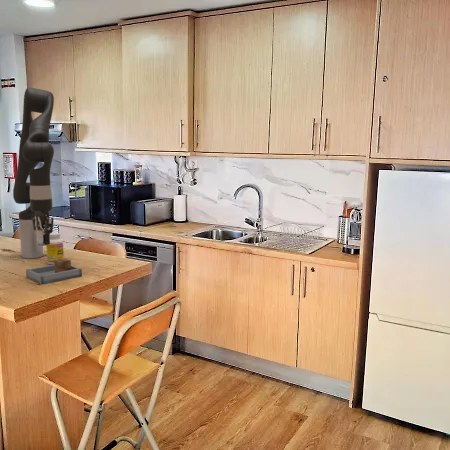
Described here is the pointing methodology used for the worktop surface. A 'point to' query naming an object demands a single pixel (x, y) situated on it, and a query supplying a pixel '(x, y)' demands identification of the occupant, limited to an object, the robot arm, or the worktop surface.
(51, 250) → the supplement bottle
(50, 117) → the robot arm
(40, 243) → the grey rounded cylinder
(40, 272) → the parts tray
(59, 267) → the walnut block
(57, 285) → the worktop surface
